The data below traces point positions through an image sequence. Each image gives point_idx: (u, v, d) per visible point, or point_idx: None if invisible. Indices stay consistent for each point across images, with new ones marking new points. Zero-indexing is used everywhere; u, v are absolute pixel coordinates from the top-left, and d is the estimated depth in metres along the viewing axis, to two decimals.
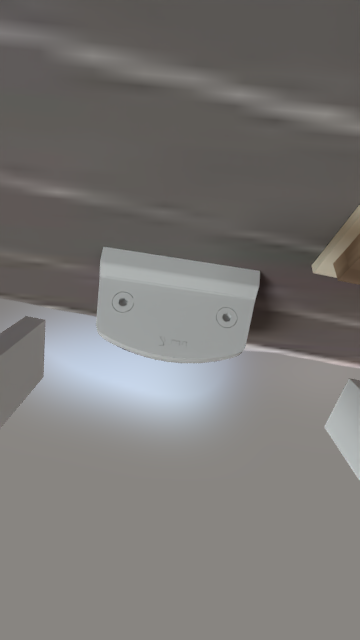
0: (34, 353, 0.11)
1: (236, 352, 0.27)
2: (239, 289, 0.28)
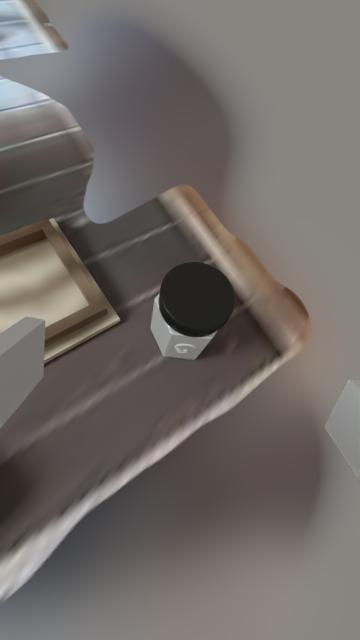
0: (34, 353, 0.11)
1: None
2: None
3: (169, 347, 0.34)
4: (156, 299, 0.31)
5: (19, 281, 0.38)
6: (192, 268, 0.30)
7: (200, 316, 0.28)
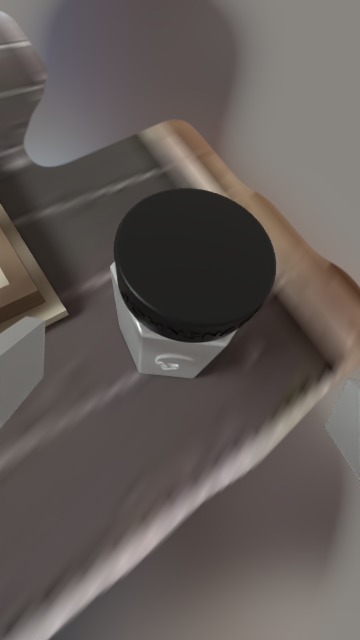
0: (34, 353, 0.11)
1: None
2: None
3: (145, 360, 0.19)
4: (113, 266, 0.15)
5: None
6: (185, 199, 0.15)
7: (203, 296, 0.12)
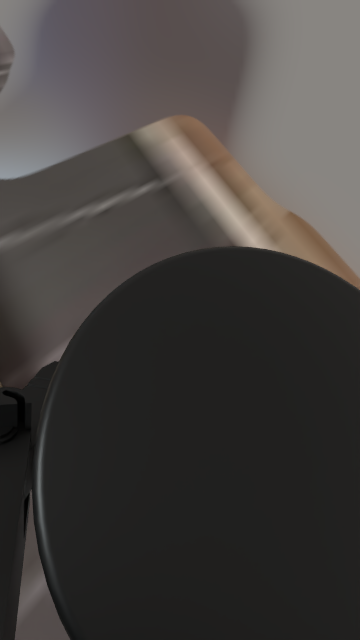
0: None
1: None
2: None
3: None
4: None
5: None
6: (232, 276, 0.06)
7: (314, 632, 0.04)
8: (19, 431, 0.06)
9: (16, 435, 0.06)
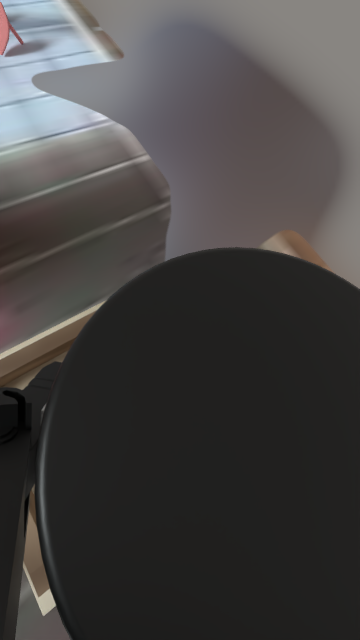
0: None
1: None
2: None
3: None
4: None
5: None
6: (235, 278, 0.06)
7: (319, 638, 0.04)
8: (19, 431, 0.06)
9: (16, 435, 0.06)
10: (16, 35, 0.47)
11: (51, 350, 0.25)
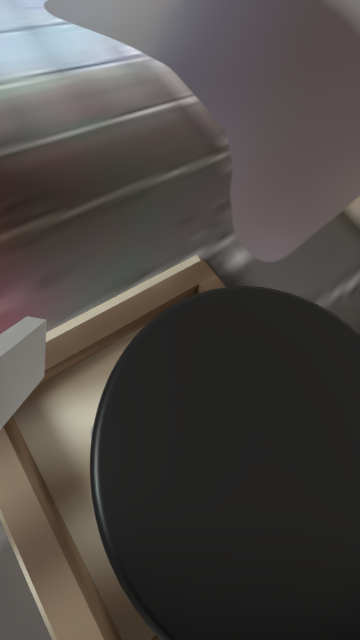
0: (35, 353, 0.11)
1: None
2: None
3: None
4: None
5: None
6: (234, 314, 0.07)
7: (304, 591, 0.05)
8: None
9: None
10: None
11: (101, 339, 0.17)
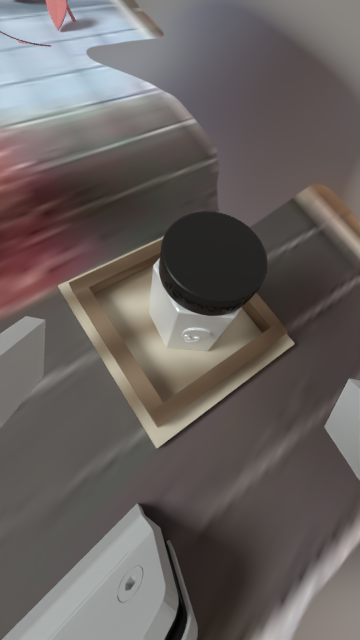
0: (34, 353, 0.11)
1: (158, 606, 0.16)
2: (127, 539, 0.22)
3: (174, 334, 0.25)
4: (155, 265, 0.22)
5: None
6: (205, 219, 0.21)
7: (220, 283, 0.19)
8: None
9: None
10: (70, 12, 0.52)
11: (141, 262, 0.31)
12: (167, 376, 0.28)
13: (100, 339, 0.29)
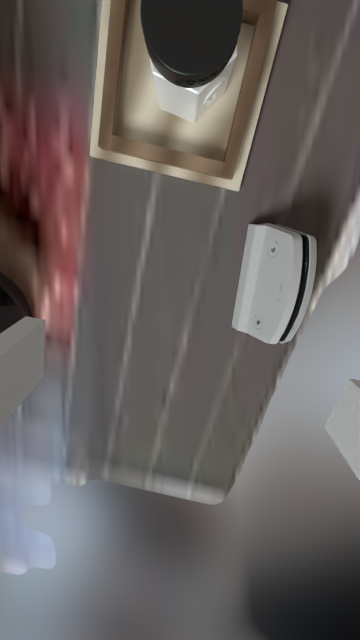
0: (34, 353, 0.11)
1: (292, 242, 0.33)
2: (257, 239, 0.39)
3: (198, 109, 0.30)
4: (154, 71, 0.25)
5: None
6: None
7: (215, 40, 0.22)
8: None
9: None
10: None
11: (118, 68, 0.31)
12: (211, 143, 0.35)
13: (151, 162, 0.36)
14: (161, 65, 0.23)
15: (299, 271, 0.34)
